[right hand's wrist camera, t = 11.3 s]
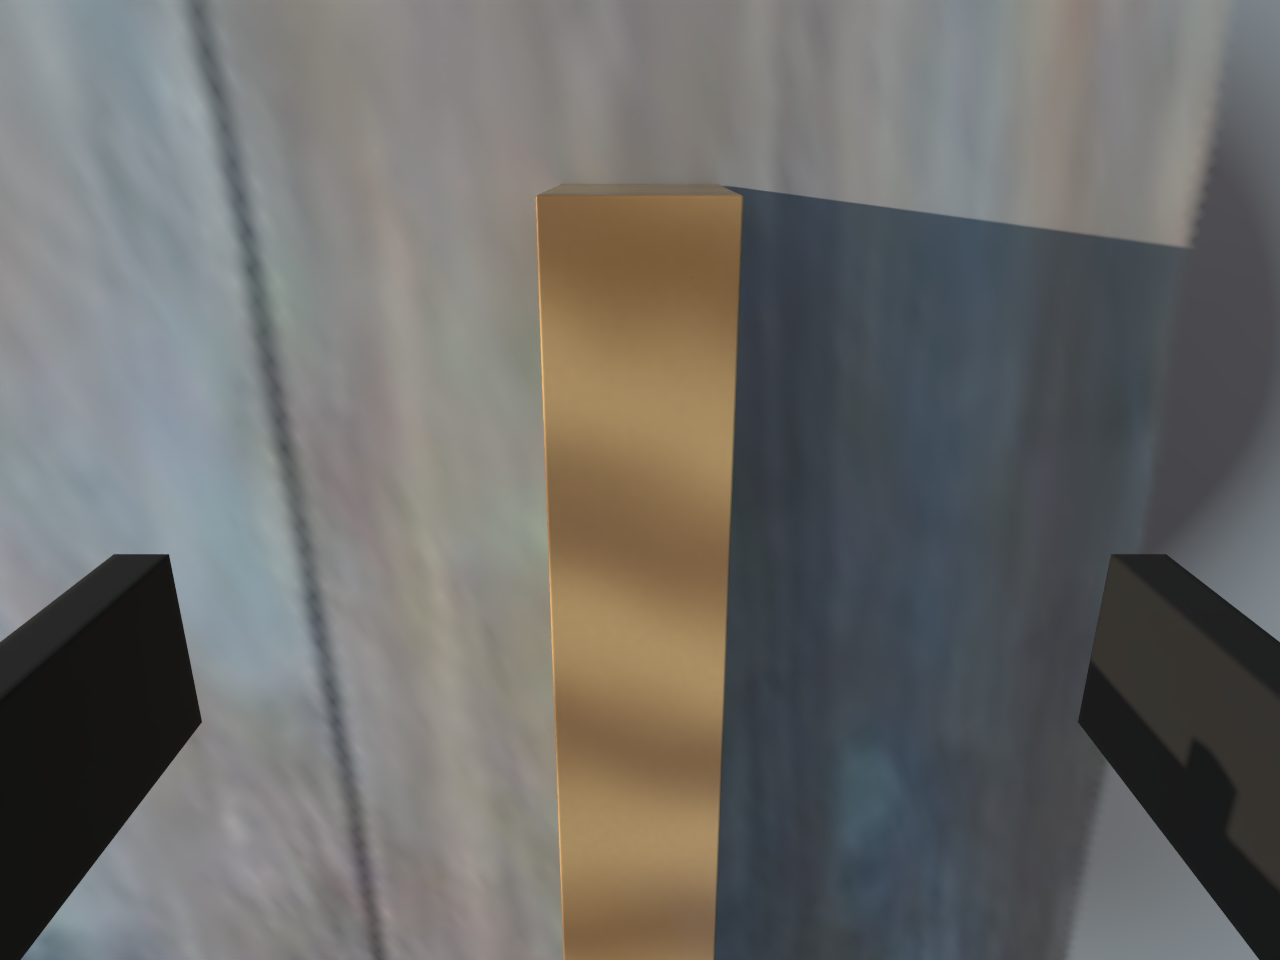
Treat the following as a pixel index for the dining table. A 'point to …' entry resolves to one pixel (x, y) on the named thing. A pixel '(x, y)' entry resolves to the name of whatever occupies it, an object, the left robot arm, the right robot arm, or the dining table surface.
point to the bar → (639, 552)
